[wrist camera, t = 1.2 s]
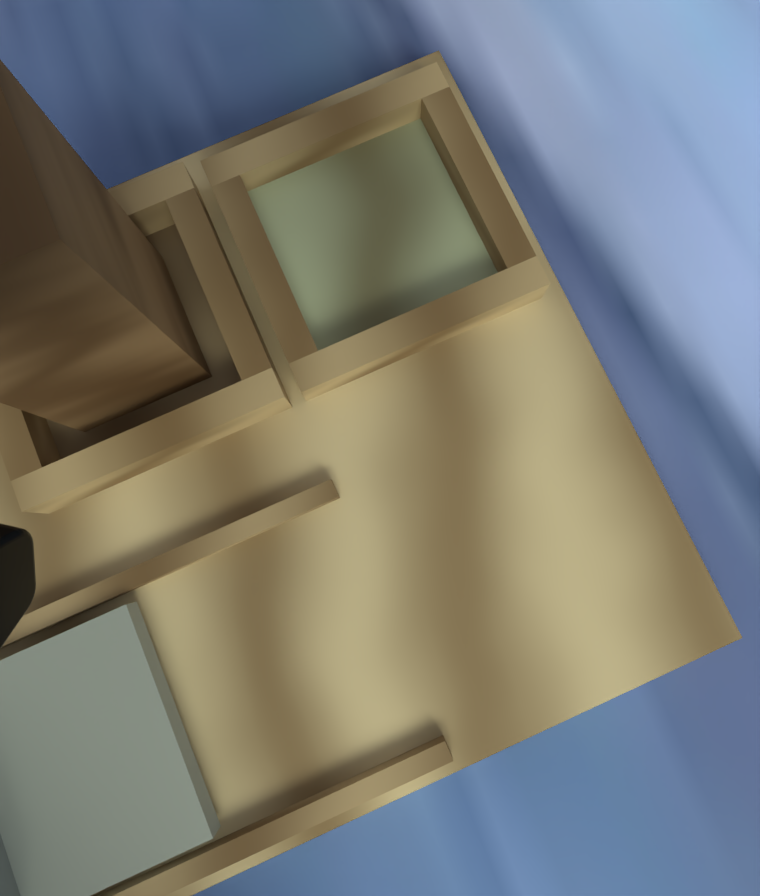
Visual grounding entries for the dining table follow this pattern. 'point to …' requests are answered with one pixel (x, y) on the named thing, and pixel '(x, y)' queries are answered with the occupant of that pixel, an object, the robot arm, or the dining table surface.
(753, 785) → the dining table surface
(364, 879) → the dining table surface
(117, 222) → the walnut block
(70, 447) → the puzzle board
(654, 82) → the dining table surface
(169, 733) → the slide cover
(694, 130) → the dining table surface
